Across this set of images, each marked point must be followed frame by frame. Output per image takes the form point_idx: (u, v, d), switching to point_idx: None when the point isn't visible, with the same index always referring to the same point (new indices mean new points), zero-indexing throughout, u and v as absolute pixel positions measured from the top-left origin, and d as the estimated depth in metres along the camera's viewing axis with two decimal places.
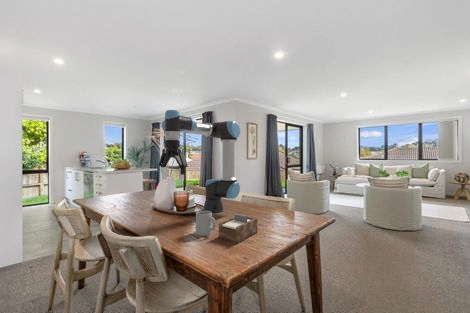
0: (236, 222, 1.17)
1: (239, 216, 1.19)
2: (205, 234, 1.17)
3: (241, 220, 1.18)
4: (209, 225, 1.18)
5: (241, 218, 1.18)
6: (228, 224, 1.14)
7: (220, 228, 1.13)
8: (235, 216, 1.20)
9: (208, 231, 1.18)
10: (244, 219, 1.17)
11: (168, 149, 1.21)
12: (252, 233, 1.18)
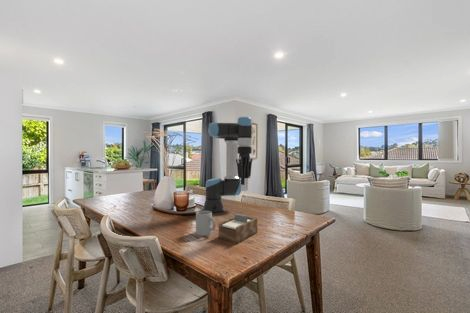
0: (236, 222, 1.17)
1: (239, 216, 1.19)
2: (205, 234, 1.17)
3: (241, 220, 1.18)
4: (209, 225, 1.18)
5: (241, 218, 1.18)
6: (228, 224, 1.14)
7: (220, 228, 1.13)
8: (235, 216, 1.20)
9: (208, 231, 1.18)
10: (244, 219, 1.17)
11: None
12: (252, 233, 1.18)
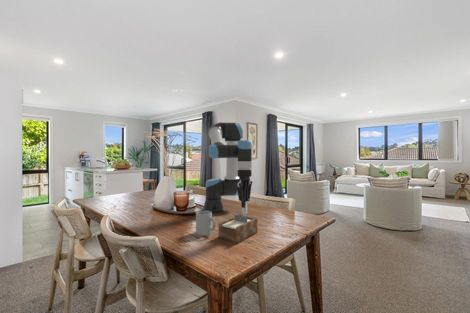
0: (236, 222, 1.17)
1: (239, 216, 1.19)
2: (205, 234, 1.17)
3: (241, 220, 1.18)
4: (209, 225, 1.18)
5: (241, 218, 1.18)
6: (228, 224, 1.14)
7: (220, 228, 1.13)
8: (235, 216, 1.20)
9: (208, 231, 1.18)
10: (244, 219, 1.17)
11: None
12: (252, 233, 1.18)
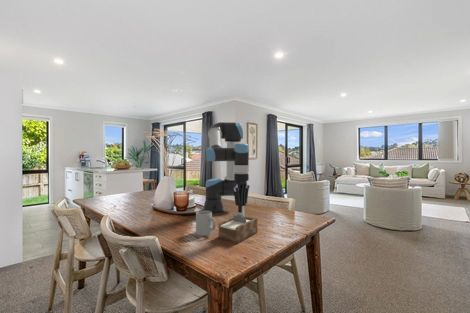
0: (235, 223, 1.16)
1: (238, 216, 1.18)
2: (205, 234, 1.17)
3: (240, 221, 1.17)
4: (209, 225, 1.18)
5: (240, 219, 1.17)
6: (227, 225, 1.13)
7: (220, 228, 1.13)
8: (234, 216, 1.19)
9: (208, 231, 1.18)
10: (243, 220, 1.16)
11: None
12: (252, 233, 1.18)
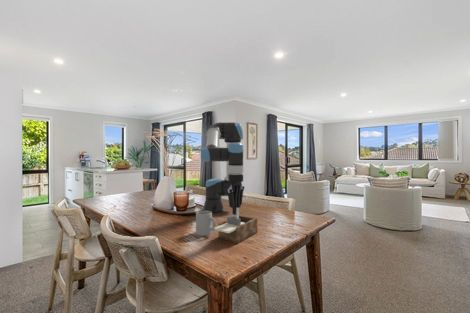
0: (229, 225, 1.12)
1: (232, 219, 1.14)
2: (205, 234, 1.17)
3: (234, 223, 1.13)
4: (209, 225, 1.18)
5: (234, 221, 1.13)
6: (220, 227, 1.09)
7: None
8: (228, 219, 1.15)
9: (208, 231, 1.18)
10: (237, 222, 1.12)
11: None
12: (252, 233, 1.18)
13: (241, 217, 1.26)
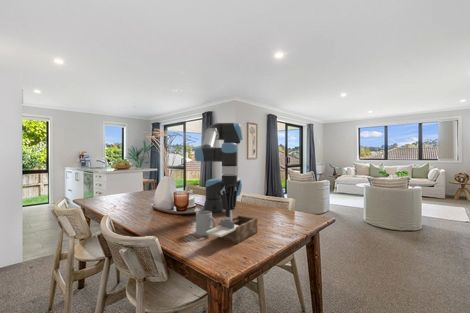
0: (222, 228, 1.07)
1: (225, 222, 1.09)
2: (205, 234, 1.17)
3: (227, 226, 1.09)
4: (209, 225, 1.18)
5: (227, 224, 1.09)
6: (213, 231, 1.04)
7: None
8: (221, 221, 1.11)
9: None
10: (230, 225, 1.07)
11: None
12: (252, 233, 1.18)
13: (241, 217, 1.26)
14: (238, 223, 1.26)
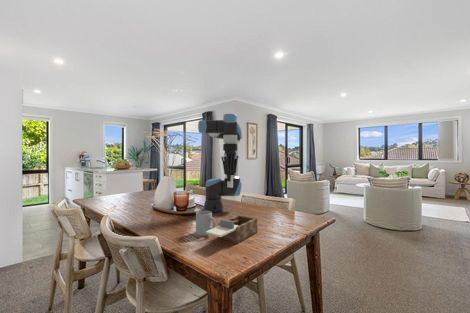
0: (222, 228, 1.07)
1: (225, 222, 1.09)
2: (205, 234, 1.17)
3: (227, 226, 1.08)
4: (209, 225, 1.18)
5: (227, 224, 1.08)
6: (212, 231, 1.04)
7: None
8: (221, 222, 1.11)
9: None
10: (230, 225, 1.07)
11: None
12: (252, 233, 1.18)
13: (241, 217, 1.26)
14: (238, 223, 1.26)
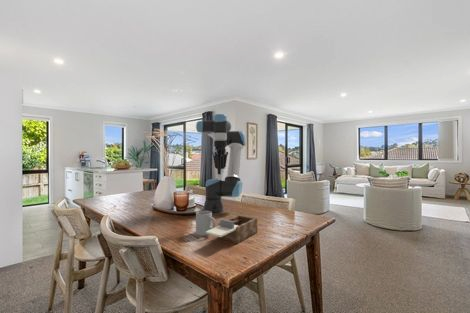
0: (222, 228, 1.07)
1: (225, 222, 1.09)
2: (205, 234, 1.17)
3: (227, 226, 1.08)
4: (209, 225, 1.18)
5: (227, 224, 1.08)
6: (212, 231, 1.04)
7: None
8: (221, 222, 1.11)
9: None
10: (230, 225, 1.07)
11: None
12: (252, 233, 1.18)
13: (241, 217, 1.26)
14: (238, 223, 1.26)
